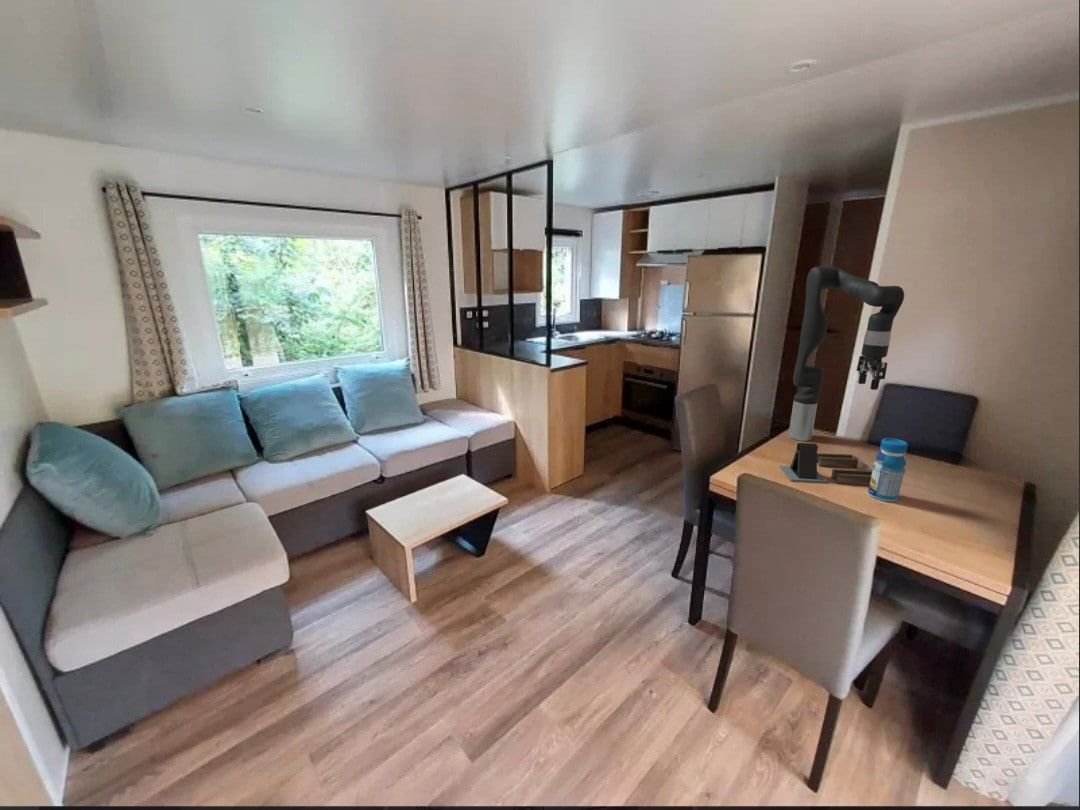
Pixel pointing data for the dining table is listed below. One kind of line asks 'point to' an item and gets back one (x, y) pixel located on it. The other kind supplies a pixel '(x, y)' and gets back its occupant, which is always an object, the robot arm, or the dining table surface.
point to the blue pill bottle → (888, 470)
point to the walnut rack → (849, 461)
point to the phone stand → (805, 461)
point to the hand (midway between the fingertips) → (867, 386)
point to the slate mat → (793, 477)
